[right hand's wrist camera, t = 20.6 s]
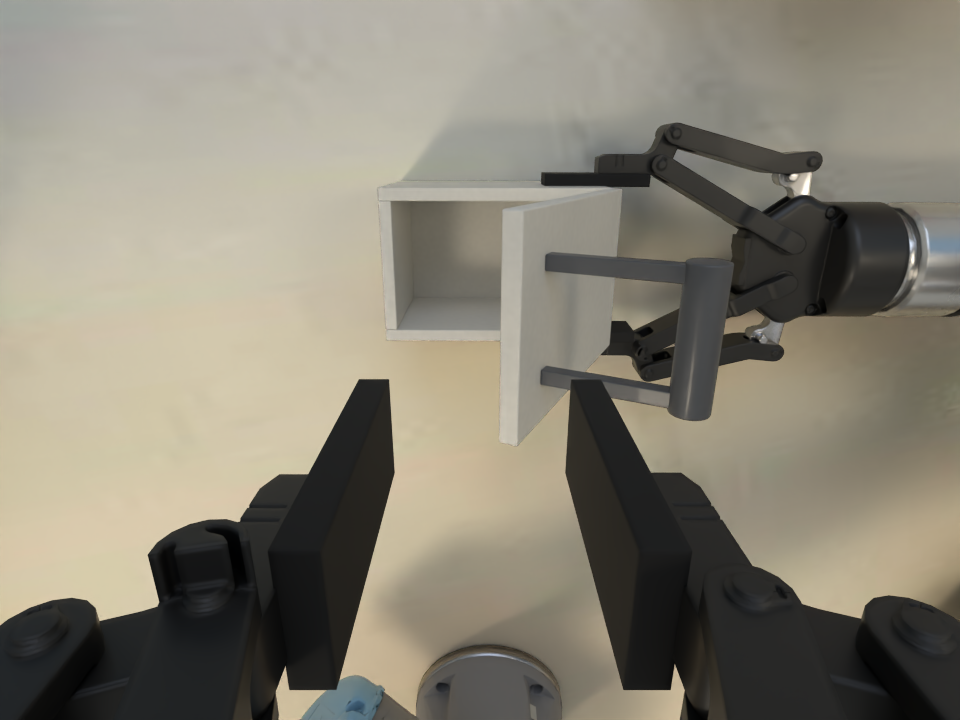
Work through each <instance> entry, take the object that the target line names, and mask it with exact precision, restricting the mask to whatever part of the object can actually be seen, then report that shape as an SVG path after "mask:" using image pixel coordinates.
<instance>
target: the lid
mask: <svg viewBox="0 0 960 720" xmlns="http://www.w3.org/2000/svg"><path fill="white" fill-rule="evenodd" d="M621 202H622V189H610V188H609V189H604V190H599V191H594V192H588V193H583V194H578V195H573V196H568V197H563V198H558V199H553V200H547V201H542V202H537V203H532V204H527V205H522V206H517V207H511V208H506V209H503V211H502V264H501V335H500V405H499V442H500V443H504V444H508V445H512V446H518V445H519V444H520V443H521V442H522V440H523V439H524V438H525V437H526V436H527V435H528V434H529V433H530V432H531V431H532V429H533V428H534V427H535V426H536V425H537V424H538V423H539V422H540V421H541V420H542V418H543V417H544V416H545V415H546V414H547V413H548V412H549V411H550V410H551V409H552V407H553V406H554V405H555V404H556V403H557V402H558V401H559V400H560V399H561V398H562V397H563V395H564V394H565V393H566V392H567V391H568V390H570V389H571V379H601V380H602V382H603V384H604V386H605V388H606V390H607V392H608V394H609V395H610V397H611V398H615V399H621V400H626V401H632V402H637V403H642V404H648V405H653V406H659V407H664V408H667V410H668V412H669V413H670V414H671V415H673V416H675V417H677V418H680V419H683V420H689V421H702V420H706V419H708V418H709V417H710V415H711V410H712V404H713V398H714V391H715V385H716V378H717V372H718V366H719V359H720V353H721V346H722V340H723V334H724V327H725V321H726V314H727V308H728V302H729V295H730V289H731V282H732V276H733V269H734V263H733V262H730V261H727V260H723V259H715V258H692V259H688V260H686V262H675V261H662V260H649V259H636V258H624V257H617V249H618V237H619V225H620V213H621ZM615 278H624V279H635V280H645V281H656V282H667V283H677V284H683V286H682V293H681V301H680V309H679V317H678V325H677V333H676V341H675V349H674V357H673V365H672V373H671V381H670V386H664V385H658V384H652V383H646V382H640V381H634V380H628V379H622V378H616V377H611V376H605V375H599V374H593V373H587V372H585V371H586V370H587V369H588V368H589V367H590V366H591V365H592V364H593V362H594V361H595V360H596V359H597V358H598V357H599V356H600V355H601V354H602V353H603V351H604V350H605V349H606V348H607V347H608V346H609V344H610V332H611V320H612V308H613V297H614V285H615Z"/></svg>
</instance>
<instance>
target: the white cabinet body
mask: <svg viewBox="0 0 960 720" xmlns="http://www.w3.org/2000/svg"><path fill="white" fill-rule="evenodd" d="M609 188H610V189H613V188H611V187H607V186H544V185H542V184H541V181H398V182H395V183H392V184H388V185H385V186H382V187H379V188H377V191H378V201H379V202H378V206H379V223H380V240H381V257H382V274H383V291H384V308H385V325H386V340H387V341H500V335H501V264H502V211H503V209H506V208H511V207H517V206H522V205H527V204H532V203H537V202H542V201H547V200H553V199H558V198H563V197H568V196H573V195H578V194H583V193H588V192H594V191H599V190H604V189H609Z"/></svg>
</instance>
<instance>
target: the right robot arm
mask: <svg viewBox="0 0 960 720" xmlns="http://www.w3.org/2000/svg"><path fill="white" fill-rule="evenodd" d="M394 473H395V472H394V456H393V439H392V423H391V406H390V389H389V379H359V380H358V382H357V384H356V386H355V388H354V390H353V392H352V394H351V395H350V397H349V399H348V401H347V403H346V405H345V407H344V409H343V410H342V412H341V414H340V416H339V418H338V420H337V422H336V424H335V425H334V427H333V429H332V431H331V433H330V435H329V437H328V438H327V440H326V442H325V444H324V446H323V448H322V450H321V452H320V453H319V455H318V457H317V459H316V461H315V463H314V465H313V467H312V468H311V470H310V472H309V474H279V475H278V476H277V477H275V478H274V479H272V480H271V481H270V482H268V483H267V484H266V485H264V486H263V487H262V488H260V489H259V491H258V493H257V494H256V496H255V497H254V499H253V500H252V502H251V503H250V505H249V508H247V509H246V511H245V512H244V514H243V515H242V517H241V520H240V522H234V521H231V520H227V519H219V520H206V521H201V522H197V523H193V524H189V525H187V526H185V527H182V528H180V529H178V530H176V531H173V532H171V533H170V534H169V535H167V536H166V537H164V538H163V539H162V540H160V541H159V542H157V543H156V545H155V546H154V547H153V549H152V550H151V551H150V553H149V554H148V558H149V562H150V566H151V570H152V574H153V578H154V582H155V586H156V590H157V594H158V598H159V604H158V607H155V608H152V609H148V610H145V611H142V612H137V613H133V614H129V615H124V616H120V617H116V618H111V619H107V620H103V621H99V618H98V615H97V612H96V608H95V607H94V606H93V605H91V604H90V603H89V602H88V601H87V600H81V599H75V598H67V599H59V600H52V601H49V602H46V603H43V604H40V605H37V606H34V607H31V608H29V609H27V610H25V611H23V612H21V613H19V614H17V615H16V616H14V617H12V618H10V619H8V620H7V621H5V622H4V623H3V624H2V625H0V720H278V718H279V712H278V705H277V698H276V693H275V692H276V689H277V687H278V684H279V681H280V679H281V676H282V673H283V671H284V668H285V666H286V671H287V677H288V684H289V690H337V686H338V683H339V679H340V675H341V671H342V668H343V664H344V660H345V656H346V653H347V649H348V645H349V641H350V638H351V634H352V630H353V626H354V623H355V619H356V615H357V611H358V608H359V604H360V600H361V596H362V593H363V589H364V585H365V581H366V578H367V574H368V570H369V567H370V563H371V559H372V555H373V552H374V548H375V544H376V540H377V537H378V533H379V529H380V525H381V522H382V518H383V514H384V510H385V507H386V503H387V499H388V495H389V492H390V488H391V484H392V480H393V477H394ZM565 473H566V477H567V480H568V484H569V488H570V492H571V495H572V499H573V503H574V507H575V510H576V514H577V518H578V522H579V525H580V529H581V533H582V537H583V540H584V544H585V548H586V552H587V555H588V559H589V563H590V567H591V570H592V574H593V578H594V581H595V585H596V589H597V593H598V596H599V600H600V604H601V608H602V611H603V615H604V619H605V623H606V626H607V630H608V634H609V638H610V641H611V645H612V649H613V653H614V656H615V660H616V664H617V668H618V671H619V675H620V679H621V683H622V686H623V690H671V684H672V677H673V671H674V665H676V668H677V671H678V673H679V676H680V678H681V681H682V684H683V686H684V689H685V692H684V698H683V704H682V710H681V716H680V720H960V622H959V621H957V620H956V619H955V618H954V617H952V616H950V615H948V614H946V613H944V612H942V611H941V610H939V609H937V608H935V607H933V606H931V605H928V604H925V603H923V602H919V601H916V600H913V599H910V598H905V597H897V596H883V597H877V598H873V599H872V600H871V601H870V602H869V603H868V604H867V605H865V608H864V612H863V615H862V618H861V619H859V618H855V617H851V616H846V615H842V614H838V613H833V612H829V611H824V610H820V609H816V608H813V607H810V606H806V605H803V604H802V603H801V601H800V600H799V598H798V597H797V595H796V594H795V592H794V591H793V589H792V588H791V587H790V586H789V585H787V584H786V583H785V582H784V581H782V580H781V579H780V578H779V577H777V576H775V575H773V574H771V573H769V572H767V571H765V570H763V569H761V568H758V567H754V566H752V565H751V563H750V562H749V560H748V558H747V557H746V555H745V554H744V552H743V551H742V549H741V548H740V546H739V545H738V543H737V542H736V540H735V539H734V537H733V536H732V534H731V533H730V531H729V530H728V528H727V527H726V525H725V524H724V522H723V521H722V520H720V516H719V515H718V513H717V511H716V510H715V508H714V507H713V506H711V502H710V501H709V499H708V498H707V496H706V495H705V493H704V492H703V490H702V489H701V487H700V486H698V485H697V484H696V483H694V482H693V481H692V480H690V479H689V478H687V477H686V476H685V475H683V474H682V473H651V472H650V470H649V468H648V467H647V465H646V463H645V461H644V459H643V457H642V455H641V453H640V452H639V450H638V448H637V446H636V444H635V442H634V440H633V438H632V437H631V435H630V433H629V431H628V429H627V427H626V425H625V424H624V422H623V420H622V418H621V416H620V414H619V412H618V410H617V409H616V407H615V405H614V403H613V401H612V399H611V397H610V395H609V394H608V392H607V390H606V388H605V386H604V384H603V382H602V380H601V379H571V389H570V406H569V422H568V439H567V456H566V472H565Z"/></svg>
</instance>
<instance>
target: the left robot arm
mask: <svg viewBox="0 0 960 720" xmlns="http://www.w3.org/2000/svg"><path fill="white" fill-rule="evenodd" d="M655 137H656V138H655V140H654V142H653V144H652V146H651V148H650V149H649V150H648V151H647V152H646V153H643V154H602V155H600V156H597V157H595V168H594V173H558V172H541V184H542V185H544V186H607V187H649V185H650V175H651V176H653V177H654V178H656V179H658V180H659V181H661V182H663V183H664V184H666V185H668V186H669V187H671V188H673V189H674V190H676V191H678V192H679V193H681V194H683V195H684V196H686V197H688V198H689V199H691V200H693V201H694V202H696V203H697V204H699V205H701V206H702V207H704V208H706V209H707V210H709V211H711V212H712V213H714V214H716V215H717V216H719V217H721V218H722V219H723V220H724V221H726V222H727V223H729V224H731V225H732V226H734V227H736V228H737V229H739V230H738V232H737V234H733V238H732V244H731V247H732V256H733V257H732V260H731V262H733V263H734V269H733V276H732V282H731V289H730V295H729V302H728V308H727V314H726V319H727V318H729V317H736V316H740V315H742V314H745V313H747V312H749V311H751V310H753V309H756V310H757V311H758V312H759V313H761V314H762V315H763V316H765V318H764V320H763V321H762V323H760V324H758V325H755V326H751V327H747V328H746V329H745V333H730V334H725V335H723V340H722V346H721V353H720V359H719V366H721V365H725V364H729V363H734V362H738V361H743V360H747V359H754V360H764V361H777V360H780V359H781V358H782V356H783V355H784V349H783V348H782V347H781V346H780V345H779V344H778V343H779V340H780V336H781V333H782V330H783V326H784V323H786V322H789V321H791V320H793V319H795V318H798V317H802V316H870V315H874V316H880V317H926V316H943V317H953V316H957V317H960V203H922V202H895V203H889V204H885V203H881V202H821V201H819V200H817V199H815V198H814V197H812V196H810V189H811V180H812V172H814V171H816V170H817V169H819V168H820V166H821V164H822V161H823V160H822V156H821V154H820V153H818V152H814V151H804V152H784V153H780V152H777V151H773V150H770V149H767V148H763V147H760V146H756V145H753V144H750V143H746V142H743V141H739V140H736V139H733V138H729V137H726V136H722V135H719V134H716V133H712V132H709V131H705V130H702V129H699V128H695V127H692V126H688V125H685V124H682V123H672V124H666V125H662V126H660V127H659V128H658V129H657V131H656V135H655ZM677 149H679V150H683V151H686V152H690V153H693V154H697V155H700V156H703V157H707V158H710V159H714V160H717V161H721V162H724V163H728V164H731V165H734V166H738V167H741V168H745V169H748V170H752V171H756V172H762V173H772V180H773V182H774V184H776V185H778V186H783V187H784V188H785V189H786V190H787V196H785V197H784V198H782V199H781V200H779V201H778V202H776V203H775V204H773V205H771V206H770V207H768V208H767V209H765V210H764V211H762V212H761V211H759V210H757V209H756V208H753V207H751V206H749V205H747V204H745V203H744V202H742V201H741V200H739V199H737V198H736V197H734V196H732V195H731V194H729V193H728V192H726V191H724V190H723V189H721V188H719V187H718V186H716V185H714V184H713V183H711V182H710V181H708V180H706V179H705V178H703V177H701V176H700V175H698V174H697V173H695V172H693V171H692V170H690V169H688V168H687V167H685V166H683V165H682V164H680V163H679V162H677V161H675V160H674V159H673V157H674V155H675V153H676V150H677ZM679 309H680V308H679ZM679 309H677V310H675V311H673V312H671V313H669V314H667V315H665V316H663V317H661V318H658V319H656V320H654V321H652V322H650V323H648V324H646V325H644V326H642V327H640V328H638V329H636V330H634V331H633V330H632V328H631V327H630V326H629V325H628V323H627V322H626V321H611V332H610V344H609V346H608V347H607V348H606V349H605V350H604V351H603V353H602V354H601V355H627V356H630V357H631V358H632V364H633V367H634V368H635V370H636V371H637V373H638V374H639V376H640V377H641V379H643V380H644V381H646V382H650V381H655V380H659V379H663V378H668V377H671V373H672V365H673V357H674V349H675V346H674V347H669V348H665V347H668V346H670V345H672V344H674V343H675V341H676V333H677V325H678V317H679ZM663 348H665V349H663ZM384 690H385V689H384V688H383V687H382V686H380V685H378V686H376V685H375V684H373V683H372V682H370V681H369V680H368V679H366V678H364V677H362V676H358V675H354V676H349V677H346V678H344V679H341V680H340V681H339V683H338V686H337V690H326V692H325V693H324V694H322V695H321V696H320V697H319V698H318V699H317V700H316V701H315V702H314V703H313V705H312V706H311V707H310V708H309V709H308V710H307V712H306V713H305V714H304V715H303V717H302V718H301V719H300V720H562V703H561V695H560V689H559V686H558V683H557V681H556V679H555V677H554V676H553V674H552V673H551V671H550V670H549V669H548V668H547V667H546V666H545V665H544V664H543V663H541V662H540V661H539V660H537V659H536V658H534V657H532V656H531V655H529V654H526V653H524V652H522V651H519V650H516V649H513V648H508V647H503V646H493V645H482V646H473V647H468V648H464V649H460V650H457V651H454V652H452V653H450V654H448V655H446V656H444V657H442V658H441V659H440V660H438V661H437V662H436V663H434V664H433V665H432V666H431V667H430V668H429V669H428V670H427V672H426V673H425V675H424V676H423V678H422V680H421V682H420V685H419V689H418V695H417V703H416V717H415V716H414V715H413V714H411V713H410V712H409V711H407V710H406V709H405V708H403V707H402V706H401V705H400V704H398V703H397V702H396V701H395V700H393V699H392V698H391V697H390V696H388V695H387V694H386V693H385V692H384Z"/></svg>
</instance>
